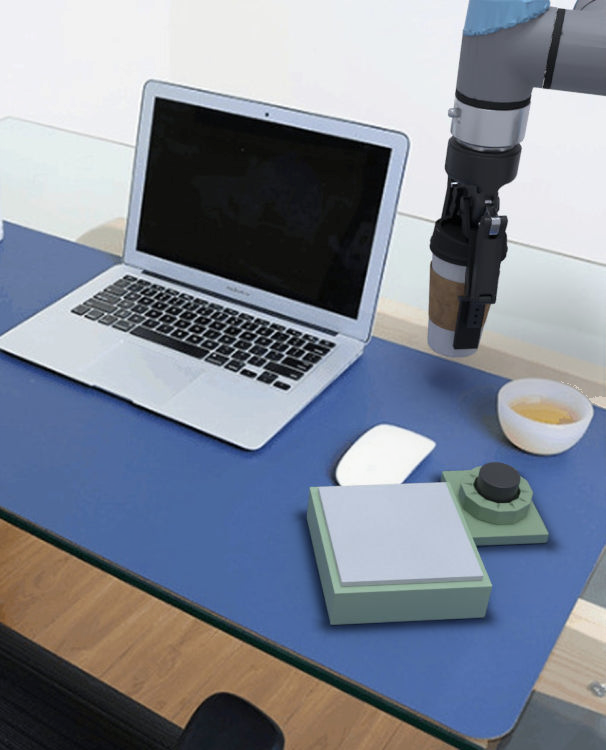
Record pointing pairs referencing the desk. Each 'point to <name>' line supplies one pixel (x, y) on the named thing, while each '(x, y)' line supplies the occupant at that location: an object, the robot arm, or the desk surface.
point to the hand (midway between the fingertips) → (455, 328)
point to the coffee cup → (449, 285)
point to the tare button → (498, 482)
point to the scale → (395, 554)
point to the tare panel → (496, 512)
